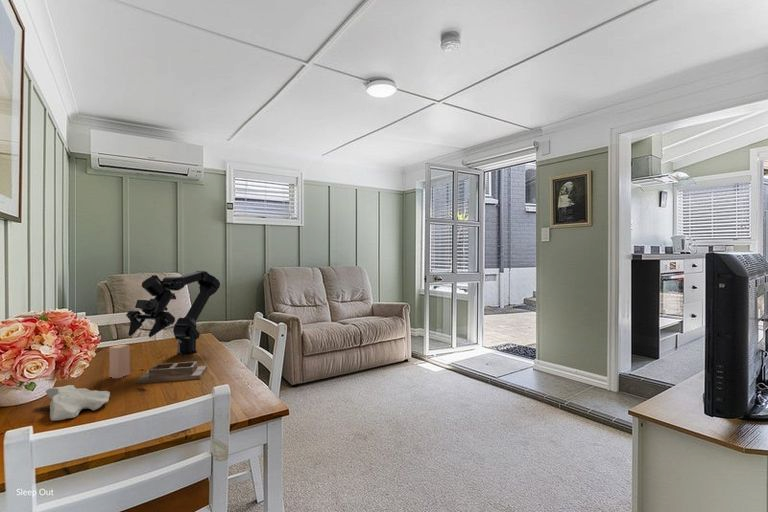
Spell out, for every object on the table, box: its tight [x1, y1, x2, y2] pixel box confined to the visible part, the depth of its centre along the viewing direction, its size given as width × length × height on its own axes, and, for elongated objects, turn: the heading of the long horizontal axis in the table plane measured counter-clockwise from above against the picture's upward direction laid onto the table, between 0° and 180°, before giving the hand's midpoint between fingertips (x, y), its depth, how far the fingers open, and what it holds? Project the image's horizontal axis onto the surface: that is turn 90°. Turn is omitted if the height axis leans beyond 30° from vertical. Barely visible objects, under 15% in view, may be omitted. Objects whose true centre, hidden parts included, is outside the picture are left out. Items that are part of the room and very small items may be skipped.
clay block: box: [108, 344, 131, 379], centre depth 137 cm, size 4×4×11 cm
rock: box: [45, 384, 111, 422], centre depth 109 cm, size 21×5×15 cm
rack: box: [136, 360, 208, 384], centre depth 137 cm, size 12×20×4 cm, turn 105°
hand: (139, 336), depth 144 cm, fingers open, 9 cm apart
